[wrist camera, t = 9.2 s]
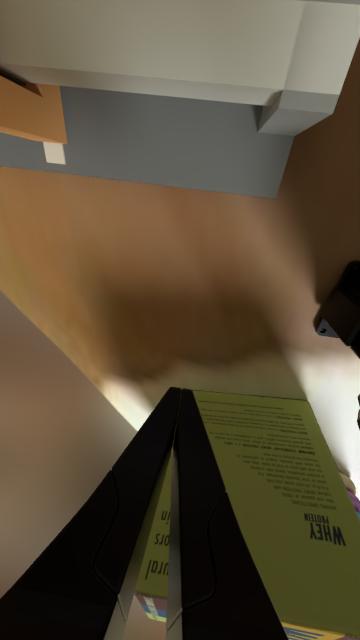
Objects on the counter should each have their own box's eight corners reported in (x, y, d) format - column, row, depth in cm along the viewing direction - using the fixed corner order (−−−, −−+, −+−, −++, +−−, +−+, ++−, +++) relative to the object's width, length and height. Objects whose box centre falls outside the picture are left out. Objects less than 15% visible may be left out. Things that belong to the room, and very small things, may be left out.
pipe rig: (333, -27, 10) (462, -251, 5) (270, 197, 15) (302, 204, 10) (-74, -54, 11) (-323, -262, 6) (-10, 164, 16) (-116, 154, 11)
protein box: (171, 386, 26) (129, 594, 13) (309, 399, 24) (425, 653, 11) (173, 437, 31) (145, 619, 18) (286, 450, 30) (345, 662, 17)
